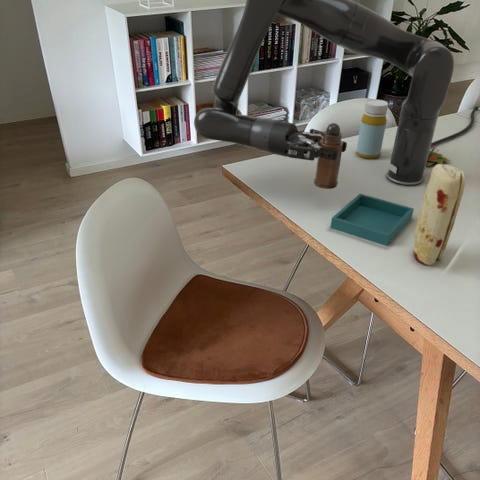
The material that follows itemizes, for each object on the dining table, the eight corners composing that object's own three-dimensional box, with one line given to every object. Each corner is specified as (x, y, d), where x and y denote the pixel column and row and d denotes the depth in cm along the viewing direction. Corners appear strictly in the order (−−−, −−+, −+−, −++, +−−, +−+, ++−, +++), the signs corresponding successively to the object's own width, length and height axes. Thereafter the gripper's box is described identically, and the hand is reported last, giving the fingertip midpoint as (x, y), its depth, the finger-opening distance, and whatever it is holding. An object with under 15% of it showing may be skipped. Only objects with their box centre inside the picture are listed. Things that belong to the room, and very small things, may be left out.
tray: (357, 204, 130) (360, 193, 128) (411, 220, 124) (414, 208, 122) (329, 230, 119) (331, 217, 117) (386, 248, 114) (389, 235, 112)
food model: (404, 245, 114) (427, 157, 102) (435, 247, 114) (461, 158, 102) (412, 270, 107) (437, 177, 94) (445, 272, 106) (474, 179, 94)
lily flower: (458, 164, 151) (463, 148, 148) (427, 171, 147) (431, 155, 144) (428, 150, 159) (432, 135, 156) (398, 156, 155) (401, 141, 152)
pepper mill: (320, 176, 127) (328, 117, 118) (341, 182, 124) (351, 122, 115) (309, 184, 123) (316, 124, 114) (331, 191, 121) (340, 129, 112)
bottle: (379, 160, 152) (390, 107, 143) (355, 158, 153) (364, 105, 144) (379, 151, 157) (389, 99, 148) (356, 149, 158) (364, 98, 149)
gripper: (261, 129, 116) (333, 144, 110) (287, 112, 126) (354, 125, 120) (259, 162, 121) (328, 178, 115) (284, 143, 131) (349, 157, 125)
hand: (341, 151), depth 118 cm, fingers closed on pepper mill, 5 cm apart
